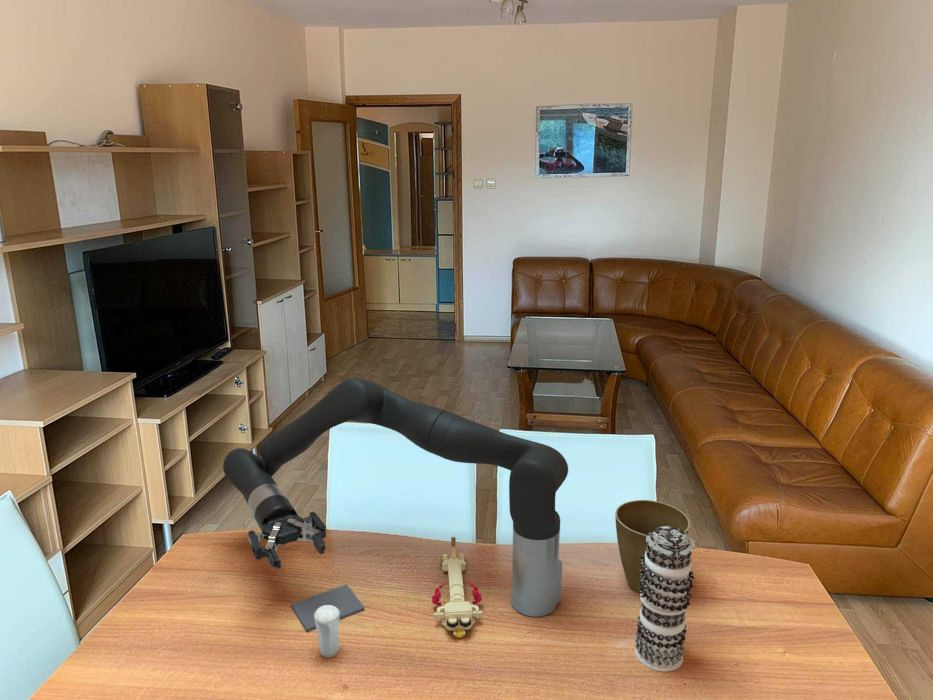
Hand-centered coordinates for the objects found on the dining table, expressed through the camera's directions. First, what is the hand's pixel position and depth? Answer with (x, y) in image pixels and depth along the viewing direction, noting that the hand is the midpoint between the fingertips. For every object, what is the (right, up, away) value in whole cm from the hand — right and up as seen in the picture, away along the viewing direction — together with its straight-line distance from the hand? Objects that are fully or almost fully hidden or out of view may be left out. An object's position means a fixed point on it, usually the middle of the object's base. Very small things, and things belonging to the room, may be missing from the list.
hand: (301, 557), depth 128 cm
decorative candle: (+66, -17, -4) cm, 69 cm away
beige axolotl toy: (+29, -12, +11) cm, 33 cm away
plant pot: (+70, -11, +16) cm, 72 cm away
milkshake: (+6, -16, -4) cm, 18 cm away
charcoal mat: (+3, -13, +8) cm, 15 cm away
